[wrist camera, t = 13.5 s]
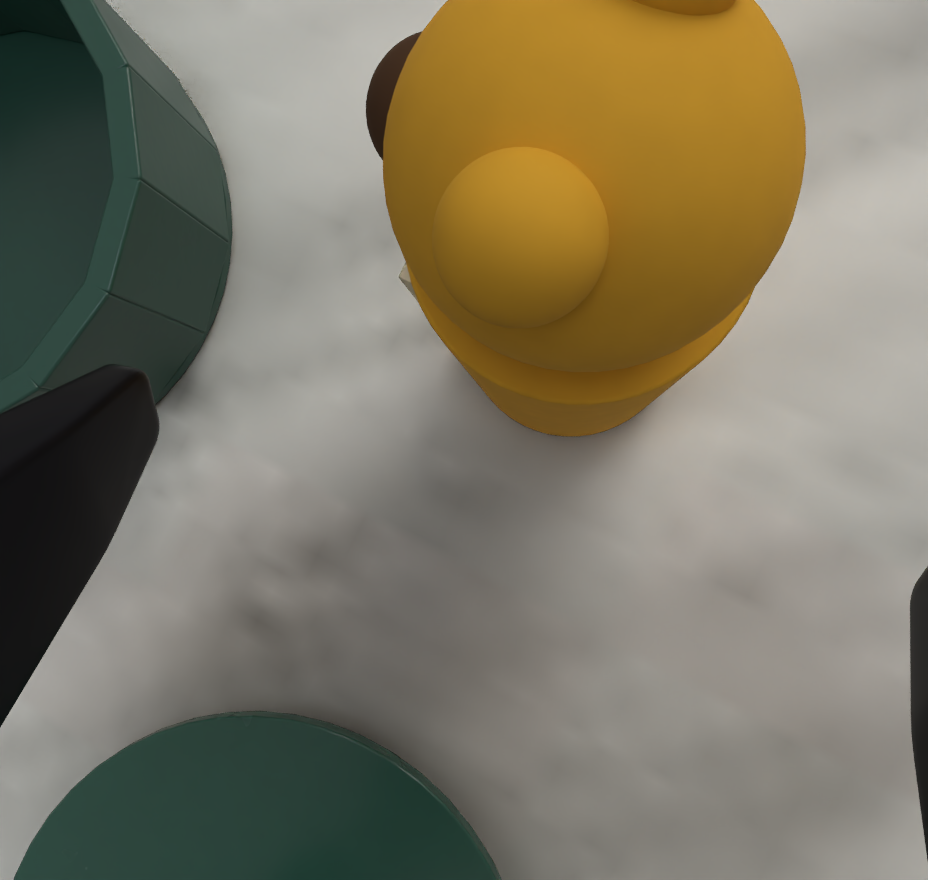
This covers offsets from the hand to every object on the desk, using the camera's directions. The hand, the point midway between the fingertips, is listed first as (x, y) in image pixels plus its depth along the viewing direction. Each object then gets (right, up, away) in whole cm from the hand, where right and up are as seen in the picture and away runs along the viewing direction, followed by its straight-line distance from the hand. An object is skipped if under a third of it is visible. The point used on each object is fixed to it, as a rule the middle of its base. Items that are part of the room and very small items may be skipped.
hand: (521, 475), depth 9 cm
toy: (+2, +3, +11) cm, 11 cm away
